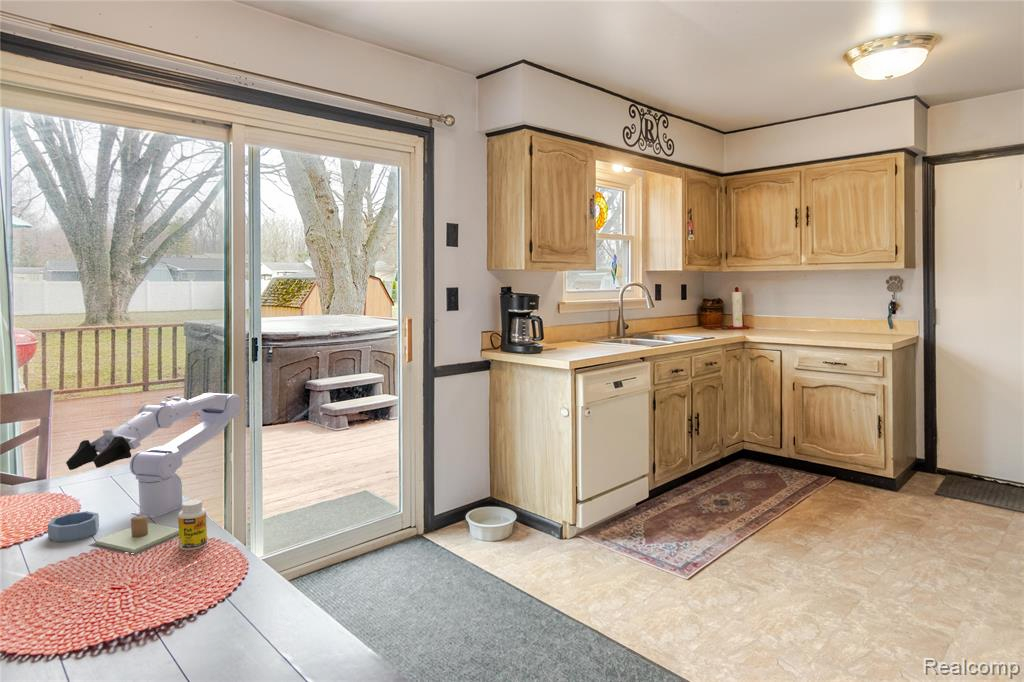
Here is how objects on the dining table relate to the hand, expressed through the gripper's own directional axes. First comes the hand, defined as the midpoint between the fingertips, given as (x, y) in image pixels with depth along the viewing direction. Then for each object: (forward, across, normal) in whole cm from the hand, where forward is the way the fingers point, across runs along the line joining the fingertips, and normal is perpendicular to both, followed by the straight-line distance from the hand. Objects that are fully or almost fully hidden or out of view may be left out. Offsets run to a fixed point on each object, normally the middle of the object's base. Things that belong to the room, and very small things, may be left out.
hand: (82, 465), depth 136 cm
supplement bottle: (+1, +20, +23) cm, 31 cm away
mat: (0, +6, +20) cm, 21 cm away
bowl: (+2, -10, +17) cm, 20 cm away
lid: (0, +6, +20) cm, 21 cm away
